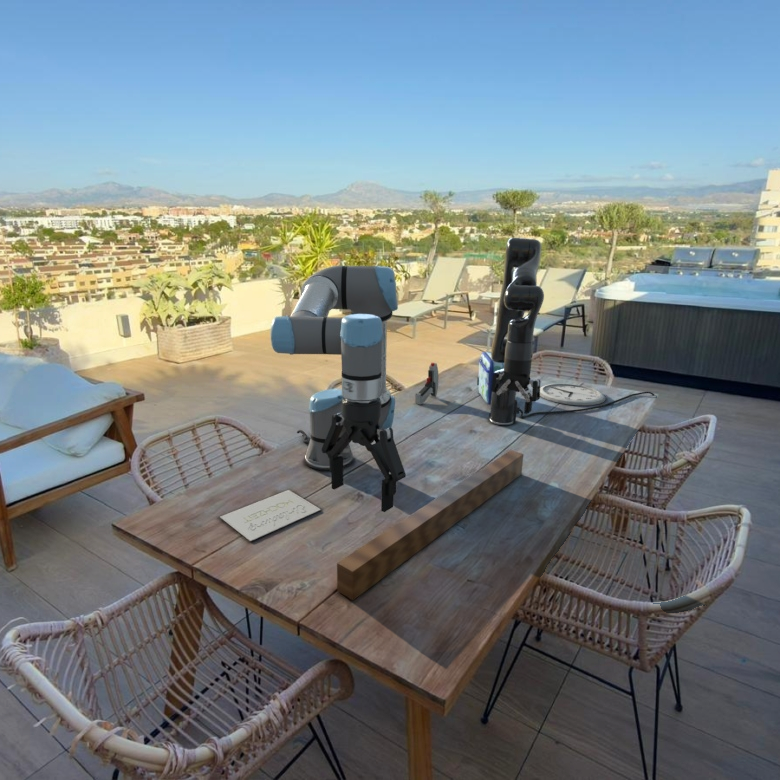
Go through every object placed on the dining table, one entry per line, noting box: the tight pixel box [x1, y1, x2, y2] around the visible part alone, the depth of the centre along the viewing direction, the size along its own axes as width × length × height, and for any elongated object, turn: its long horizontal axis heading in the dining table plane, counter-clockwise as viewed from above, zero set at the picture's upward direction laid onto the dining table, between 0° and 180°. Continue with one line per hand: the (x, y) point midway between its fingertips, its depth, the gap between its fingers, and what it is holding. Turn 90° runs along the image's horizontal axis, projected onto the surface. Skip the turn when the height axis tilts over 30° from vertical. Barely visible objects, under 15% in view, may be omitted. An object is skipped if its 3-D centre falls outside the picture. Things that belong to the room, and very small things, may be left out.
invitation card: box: [219, 489, 322, 542], centre depth 138 cm, size 21×1×15 cm
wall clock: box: [540, 383, 606, 407], centre depth 241 cm, size 30×2×30 cm
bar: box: [336, 449, 524, 601], centre depth 135 cm, size 76×4×7 cm, turn 140°
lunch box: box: [476, 351, 504, 406], centre depth 230 cm, size 26×11×21 cm, turn 179°
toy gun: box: [414, 362, 439, 406], centre depth 228 cm, size 2×16×15 cm
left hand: (361, 497), depth 105 cm, fingers open, 13 cm apart
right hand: (513, 410), depth 153 cm, fingers open, 8 cm apart
